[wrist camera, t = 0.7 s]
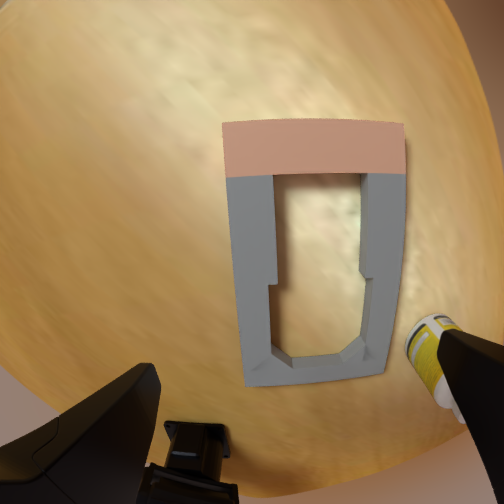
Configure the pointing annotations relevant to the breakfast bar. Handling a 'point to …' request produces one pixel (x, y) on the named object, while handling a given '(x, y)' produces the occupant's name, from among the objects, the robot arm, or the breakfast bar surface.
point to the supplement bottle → (431, 358)
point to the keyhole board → (264, 234)
